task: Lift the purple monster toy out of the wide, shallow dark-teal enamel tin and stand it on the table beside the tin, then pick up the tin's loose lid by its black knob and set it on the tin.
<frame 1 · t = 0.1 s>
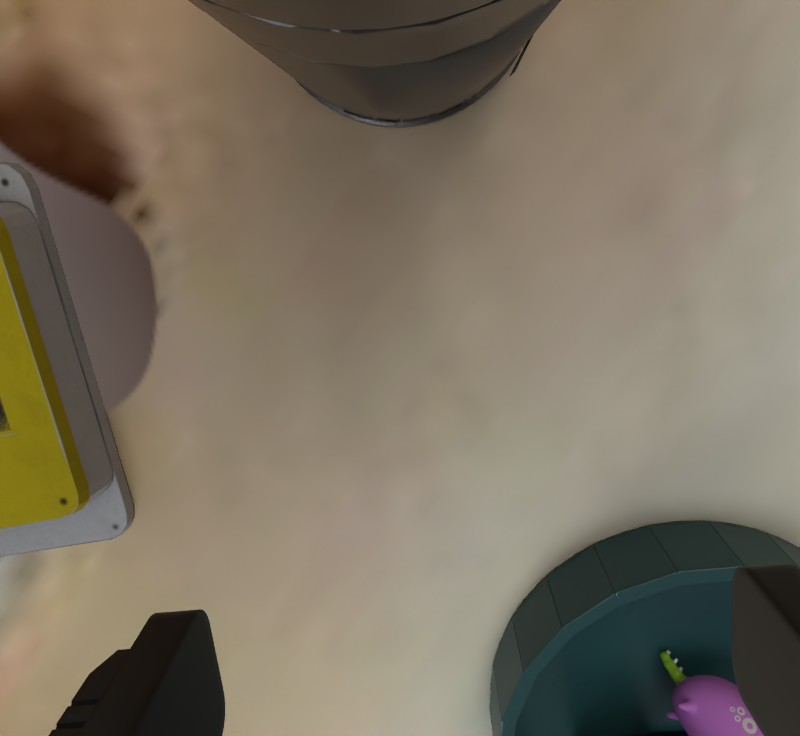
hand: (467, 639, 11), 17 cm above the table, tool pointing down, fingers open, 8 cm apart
tin: (678, 690, 31), on the table
purple monster toy: (678, 690, 31), resting on tin
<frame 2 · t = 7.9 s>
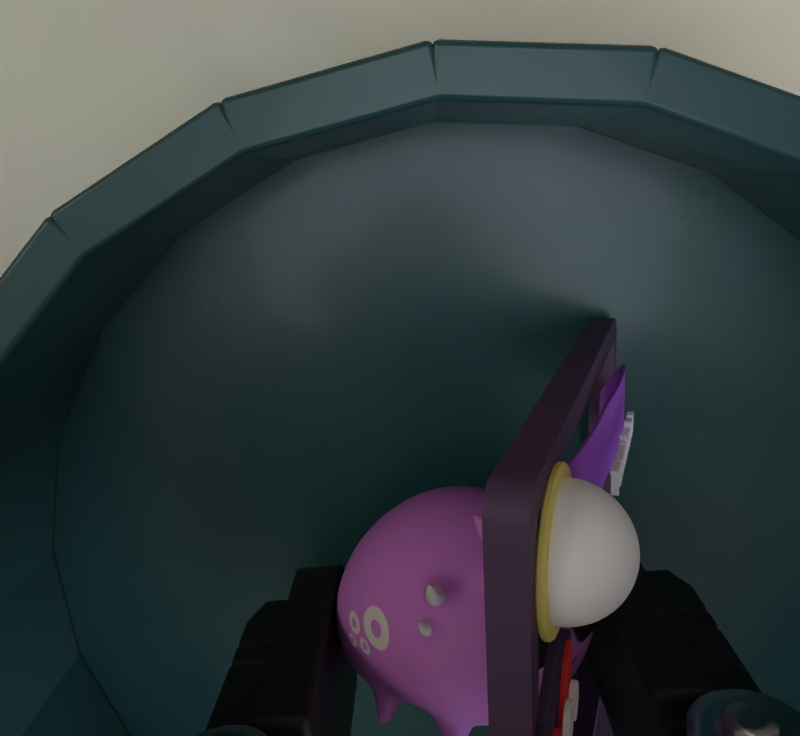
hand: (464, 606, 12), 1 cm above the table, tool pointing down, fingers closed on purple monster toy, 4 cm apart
tin: (474, 563, 13), on the table
purple monster toy: (474, 563, 13), resting on tin, touching gripper
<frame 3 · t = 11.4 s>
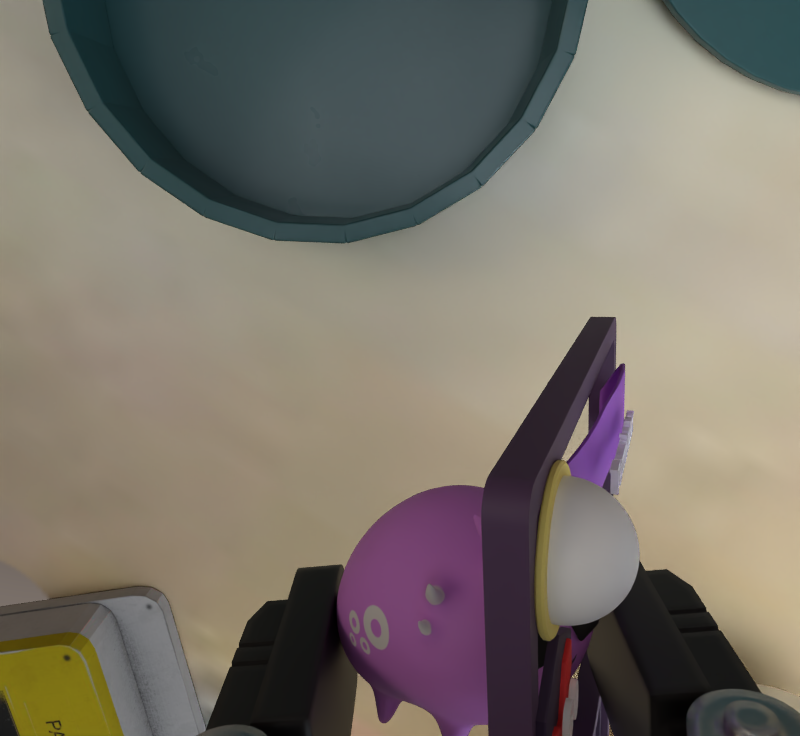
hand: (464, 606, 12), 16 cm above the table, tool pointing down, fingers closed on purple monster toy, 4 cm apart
ghost figurine: (710, 725, 32), on the table
emergency button: (30, 694, 32), on the table
purple monster toy: (474, 563, 13), point 15 cm above the table, touching gripper
when the fingers open (1 cm above the table, at t = 15.2 s): purple monster toy stays where it is, on the table.
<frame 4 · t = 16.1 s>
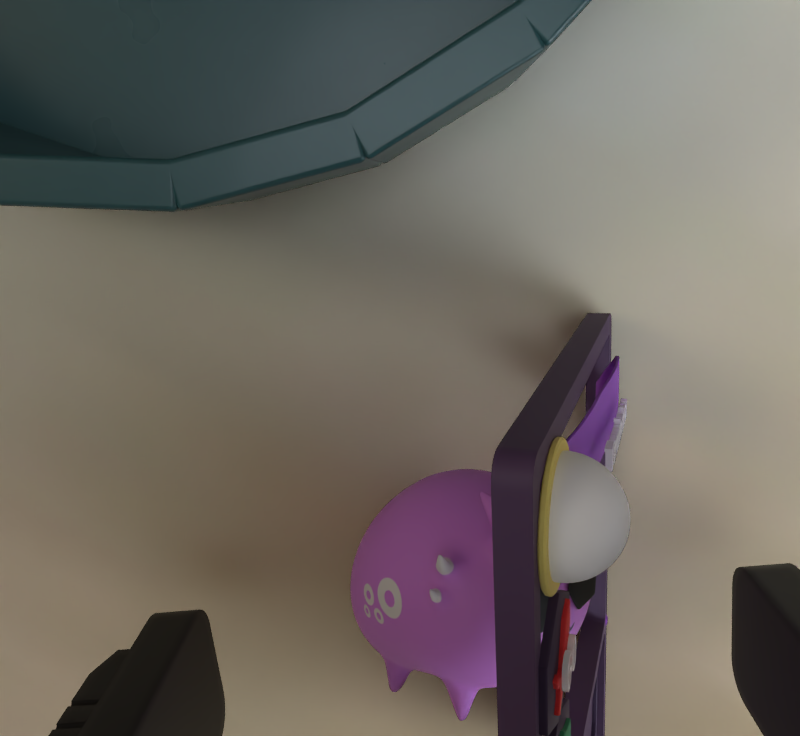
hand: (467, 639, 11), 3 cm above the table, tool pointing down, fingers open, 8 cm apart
purple monster toy: (478, 546, 14), on the table
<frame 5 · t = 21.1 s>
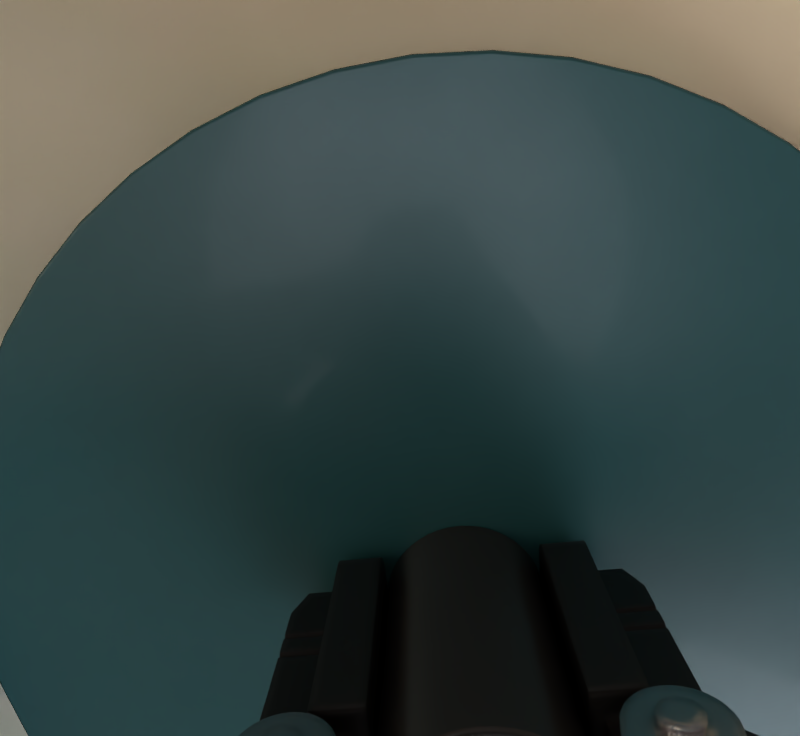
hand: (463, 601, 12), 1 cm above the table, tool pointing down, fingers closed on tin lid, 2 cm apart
tin lid: (463, 578, 13), point 1 cm above the table, touching gripper
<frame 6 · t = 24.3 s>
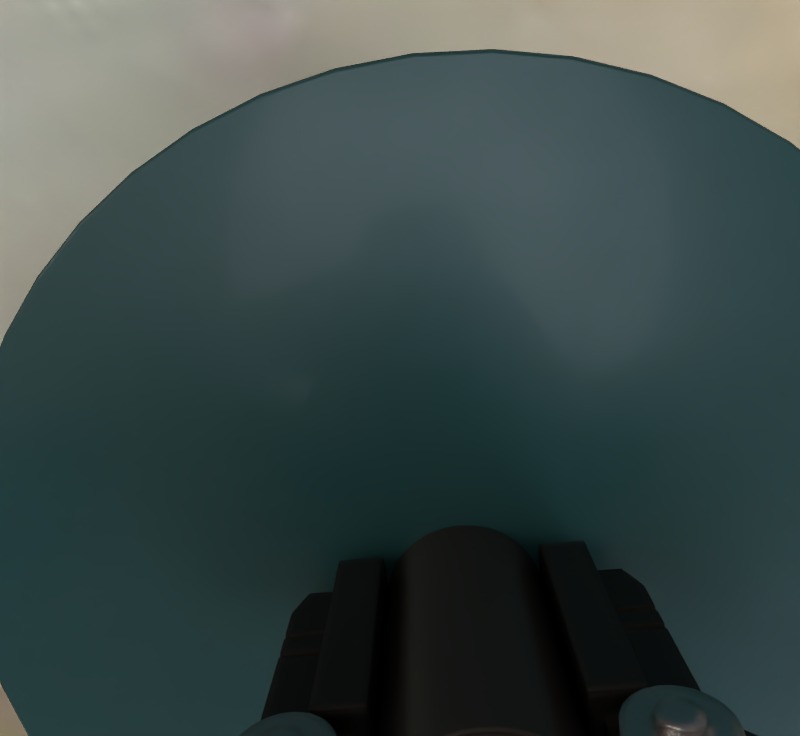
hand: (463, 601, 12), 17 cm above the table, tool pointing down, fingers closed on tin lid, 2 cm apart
tin lid: (463, 578, 13), point 16 cm above the table, touching gripper
when the fingers open (4 cm above the table, at t = 27.8 s): tin lid stays where it is, resting on tin.
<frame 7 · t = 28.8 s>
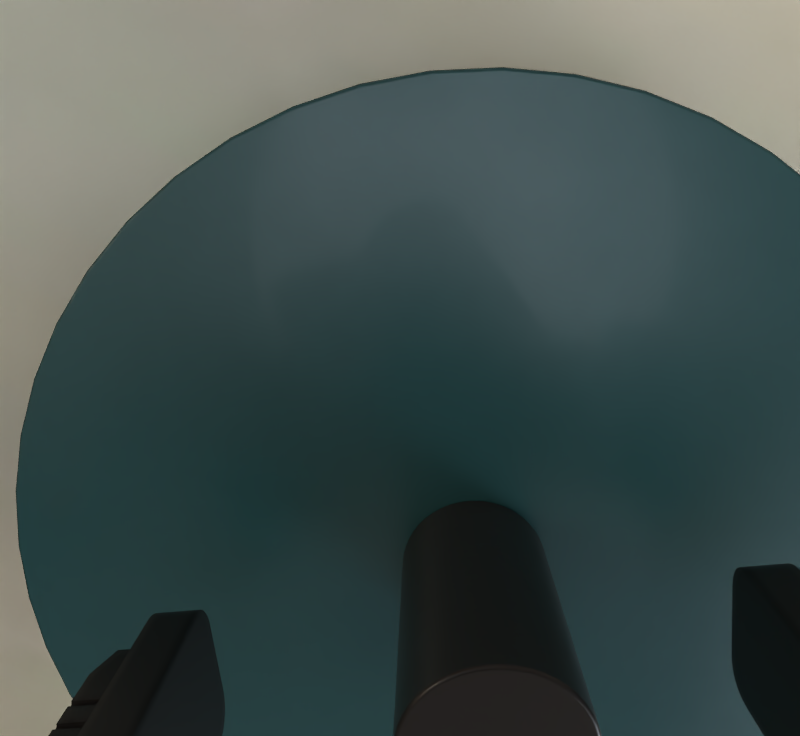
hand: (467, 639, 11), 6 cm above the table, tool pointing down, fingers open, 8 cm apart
tin lid: (471, 550, 14), point 4 cm above the table, touching tin
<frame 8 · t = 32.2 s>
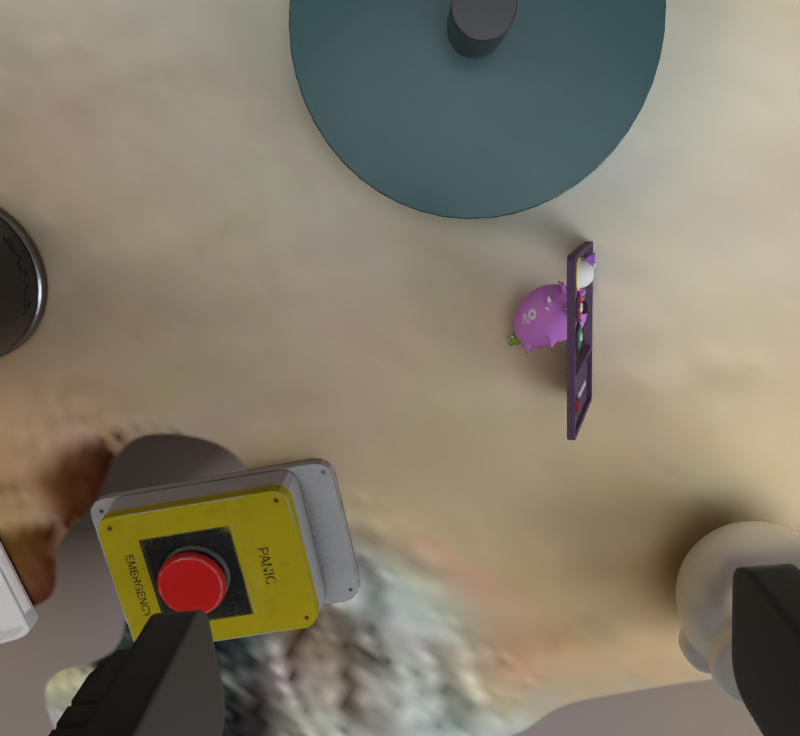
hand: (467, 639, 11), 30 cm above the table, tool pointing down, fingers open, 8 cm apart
ghost figurine: (722, 563, 44), on the table
tin lid: (474, 29, 33), point 4 cm above the table, touching tin
emergency button: (229, 543, 45), on the table
purple monster toy: (548, 323, 40), on the table
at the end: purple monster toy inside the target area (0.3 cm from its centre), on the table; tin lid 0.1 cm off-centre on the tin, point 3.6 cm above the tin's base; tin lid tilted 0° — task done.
